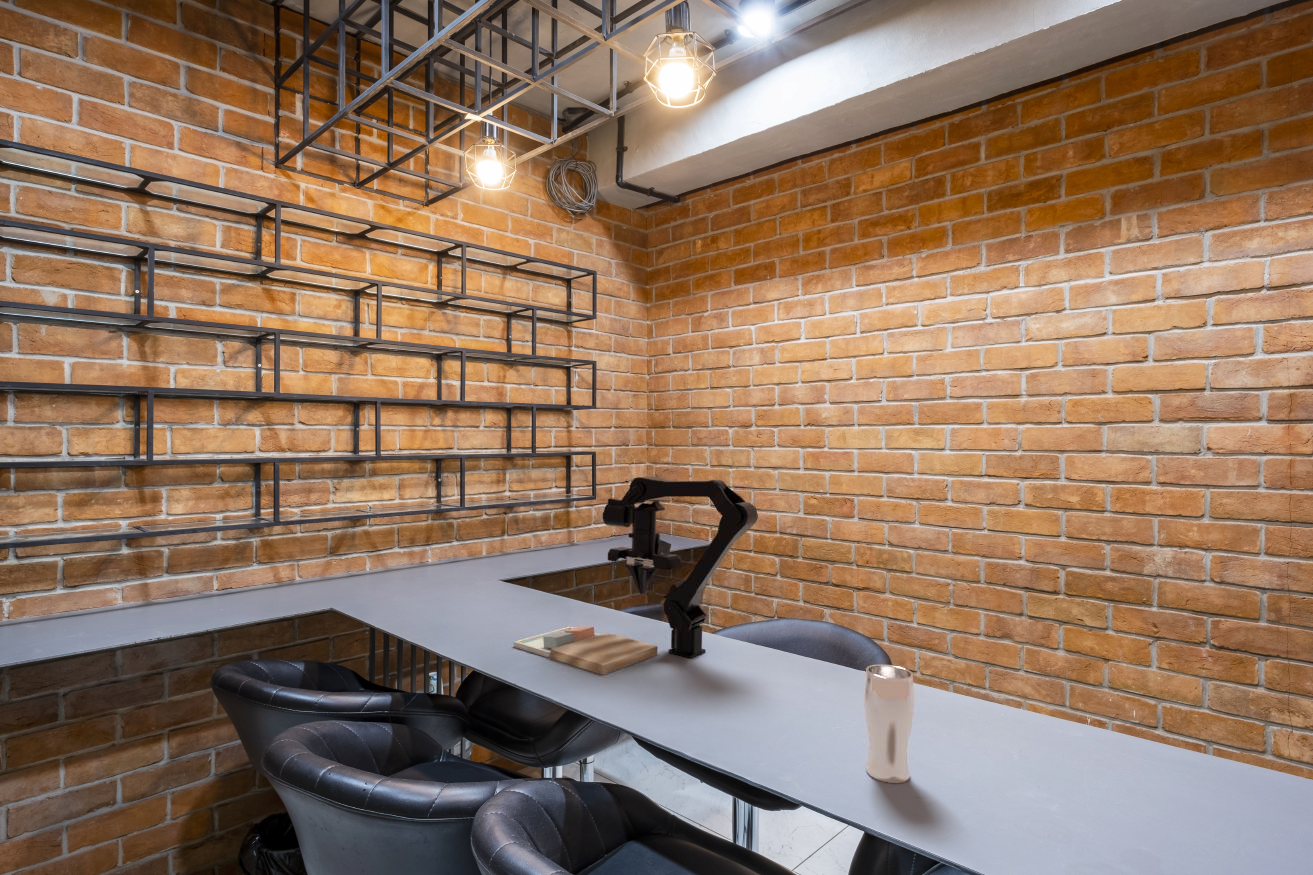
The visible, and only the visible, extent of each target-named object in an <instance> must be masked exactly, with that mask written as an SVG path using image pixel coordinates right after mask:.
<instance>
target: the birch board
mask: <svg viewBox="0 0 1313 875" xmlns="http://www.w3.org/2000/svg"><path fill="white" fill-rule="evenodd" d="M599 634H600V635H597V636H593V637H590V638H587V639H583V640H580V641H577V642H573V643H570V644H567V645H563V646H560V647H556V648H553V649H551V657H550V659H551V660H555V661H557V662H561V663H564V664H568V665H570V666H573V667H577V668H581V669H583V670H587V671H590V672H592V673H593V672H594V673H596V674H600V675H603V676H604V675H606V674H609V673H612V672H615V671H618V670H620V669H623V668H625V667H629V666H631V665H633V664H636V663H640V662H642V661H644V660H648V659H650V658H653V657H655V656H658V645H655V644H651V643H646V642H643V641H639V640H636V639H631V638H628V637H624V636H621V635H616V634H612V633H608V632H604V633H599Z"/></svg>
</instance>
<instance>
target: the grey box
mask: <svg viewBox="0 0 1313 875" xmlns="http://www.w3.org/2000/svg"><path fill="white" fill-rule="evenodd" d="M543 641H544V648H556V647H560V646H563V645H567V644H570V643H573V642H574V633H563V632H560V633H556V634H552V635H548V636H544V637H543Z"/></svg>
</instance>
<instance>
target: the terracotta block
mask: <svg viewBox="0 0 1313 875" xmlns="http://www.w3.org/2000/svg"><path fill="white" fill-rule="evenodd" d="M564 632H565V633H574V642H577V641H580V640H583V639H587V638H590V637H593V636H595V634H594V633H595V627H594V626H577V627H576V626H575V627H573V628H572V629H569V630H565V631H564Z"/></svg>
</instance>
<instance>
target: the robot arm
mask: <svg viewBox="0 0 1313 875" xmlns="http://www.w3.org/2000/svg"><path fill="white" fill-rule="evenodd" d="M668 497H669V498H670V497H671V498H673V497H675V498H679V497H682V498H685V497H686V498H687V497H688V498H690V497H691V498H693V497H694V498H695V497H697V498H698V497H699V498H700V497H701V498H708V499H709V500H710V501H711V503H712V504H713V505H714V506H713V507H714V508H715V509H716V511H717V512H718V513H719V514H720V515H721V518H720V520H719V523H718V527H717V528H718V529H717V532H716V535H715V536H714V538H712V541H710V543H709V545H708V546H707V548H706V550H705V551H704V553H702V556H701V557H700V558H699V560H698V561H697V563H696V564H695V566H694V568H692V570H691V572H690V573H689V574H688V576H687V578H685V579H683V580H680V581H678V582H675V583H673V584H672V585H671V586H670V589H669V591H668V593H666V595H664V596H663V599H664V601H663V605H662V608H663V612H664V615H665V616H666V617H667V621H668V624H669V628H670V629H671V631H670V632H671V635H670V637H671V638H670V648H669V649H668V650H667V652H668V653H670V654H674V655H676V656H681V657H685V658H689V659H690V658H691V659H692V658H694V657H696V656H699V655H702V654H704V653H706V652H707V650H706V649H705V648H703V626H700V625H701V624H704V623H705V621H706V618H707V617H708V616H707V615H708V614H706V613H705V611H704V610H703V608H702V607H701V606H700V605H699V604H700V601H701V599H702V594H703V590H704V587H705V586H706V585H707V584H708V582H709V581H710V579H711V578H712V576H713V574H714V573H715V572H716V570H717V569H718V567H719V566H720V564H721V563H722V562H723V560H724V558H725V557H726V556H727V554H728V552H729V551H730V550H731V549H732V547H733V545H734V544H735V543H736V542H737V541H738V540H739V539H741V537H742V536H744V535H745V534H746V533H747V532H748V531H749V530H750V529H751V528H752V527H753V526H754V525H755V524H756V523H757V520H758V517H759V515H758V510H757V509H756V507H755V506H754V504H753V503H750V502H747V501H746V500H745V499H744V498H743V497H742V496H741V495H739V494H738V493H737V492H735V491H734V490H732V489H731V488H730V487H729V485H727V483H725V482H724V481H723V480H722V479H710V480H673V481H672V480H668V479H664V478H660V477H656V476H655V477H654V476H642V477H641V476H639V477H635V478H633V479H632V481H631V482H630V485H629V488H628V490H627V491H626V493H625V494H624V496H623V497H622V499H619V498H616V497H615V498H613V497H612V498H608V499H607V504H606V505H605V507H604V510H603V512H602V521H603V523H604V524H605V525H606V526H609V527H621V528H629V527H630V526H632V527H631V532H629V533H628V538H631V547H624V546H620V547H614V548H613V547H612V548H610V549H609V551H608V552H607V561H611V562H618V561H619V559H624V560H626V563H625V564H624V567H625V568H627V570H628V571H629V574H630V575H631V577H632V579H633V581H634V583H635V585H636V589H638V592H639V594H640V595H645V594H646V592H647V589H648V587H649V584H650V581H651V579H652V577H653V575H654V573H655V572H656V571H657V570H662V571H665V570H666V571H668V570H673V569H678V568H681V567H682V560H681V558H680V555H678V554H673V553H672V554H671V553H670V552H671V548H672V544H671V543H670V542H667V541H665V540H663V539H661V538H660V537H661V535H660V533H659V532H657V512H662V511H663V512H664V511H665V510H666V508H665V507H664V506H663V505H662V504H661V503H660V501H659V499H664V498H668ZM648 501H652V503H648ZM646 502H647V503H646ZM635 504H636V505H638V504H639V505H638V506H636V505H635Z"/></svg>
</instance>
